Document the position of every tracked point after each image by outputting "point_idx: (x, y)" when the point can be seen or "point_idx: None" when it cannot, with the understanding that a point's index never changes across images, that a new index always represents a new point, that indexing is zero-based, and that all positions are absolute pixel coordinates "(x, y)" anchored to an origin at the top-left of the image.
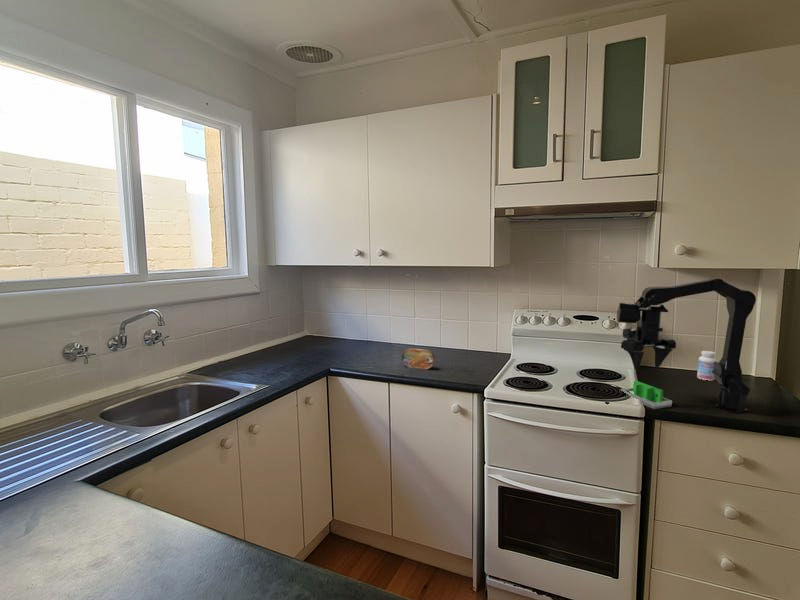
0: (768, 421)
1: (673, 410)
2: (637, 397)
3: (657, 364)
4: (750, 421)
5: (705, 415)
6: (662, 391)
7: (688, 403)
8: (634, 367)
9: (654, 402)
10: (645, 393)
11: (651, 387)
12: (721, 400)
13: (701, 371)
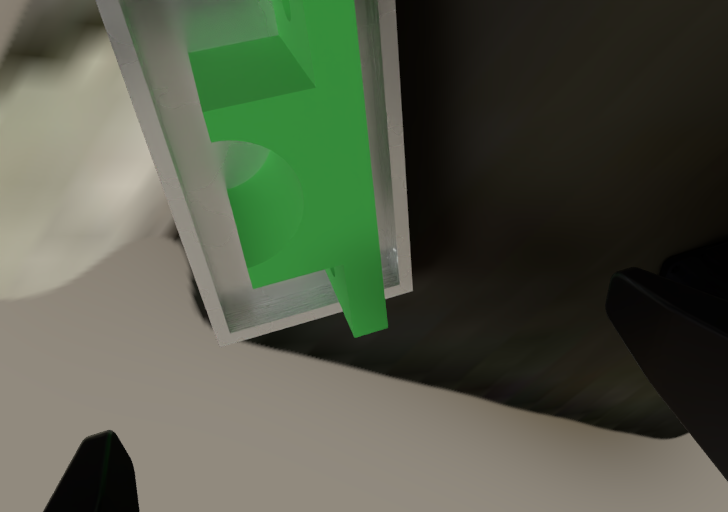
0: (660, 410)
1: (345, 326)
2: (160, 175)
3: (646, 349)
4: (593, 420)
5: (469, 380)
6: (372, 324)
7: (573, 201)
8: (72, 477)
9: (227, 334)
10: (239, 233)
11: (334, 251)
12: (716, 290)
13: None
